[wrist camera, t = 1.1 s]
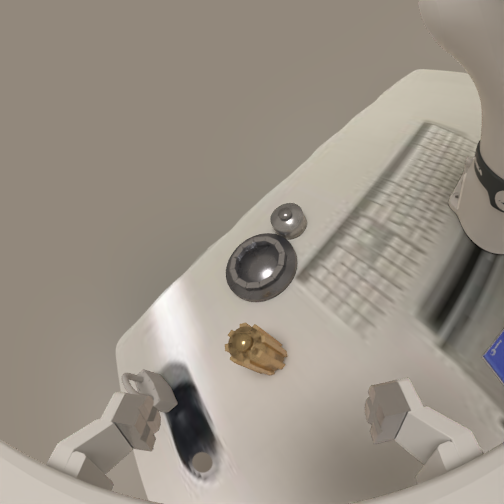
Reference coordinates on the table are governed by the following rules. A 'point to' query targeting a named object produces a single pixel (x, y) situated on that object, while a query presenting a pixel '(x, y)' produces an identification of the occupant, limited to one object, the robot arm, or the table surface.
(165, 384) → the padlock
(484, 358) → the hard drive
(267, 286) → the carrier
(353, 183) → the table surface
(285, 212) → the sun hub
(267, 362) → the gear
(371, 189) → the table surface
